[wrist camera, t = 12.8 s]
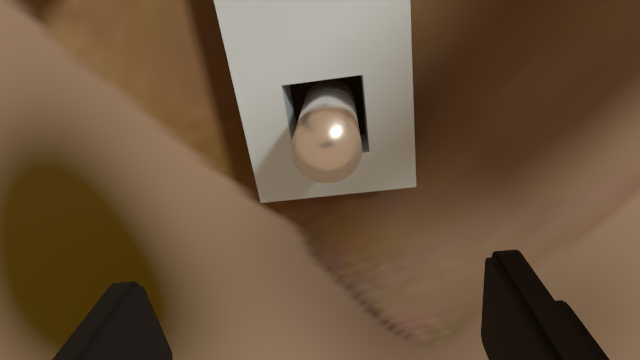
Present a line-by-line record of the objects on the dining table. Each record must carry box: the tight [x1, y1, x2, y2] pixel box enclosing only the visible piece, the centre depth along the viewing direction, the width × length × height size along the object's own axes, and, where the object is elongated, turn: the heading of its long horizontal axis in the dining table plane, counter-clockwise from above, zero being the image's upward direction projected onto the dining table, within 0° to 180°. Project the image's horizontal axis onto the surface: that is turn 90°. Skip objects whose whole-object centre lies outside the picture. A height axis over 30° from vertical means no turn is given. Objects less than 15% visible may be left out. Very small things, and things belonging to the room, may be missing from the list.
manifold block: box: [214, 0, 416, 203], centre depth 26 cm, size 12×22×4 cm, turn 8°
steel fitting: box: [291, 79, 362, 183], centre depth 26 cm, size 4×4×10 cm
